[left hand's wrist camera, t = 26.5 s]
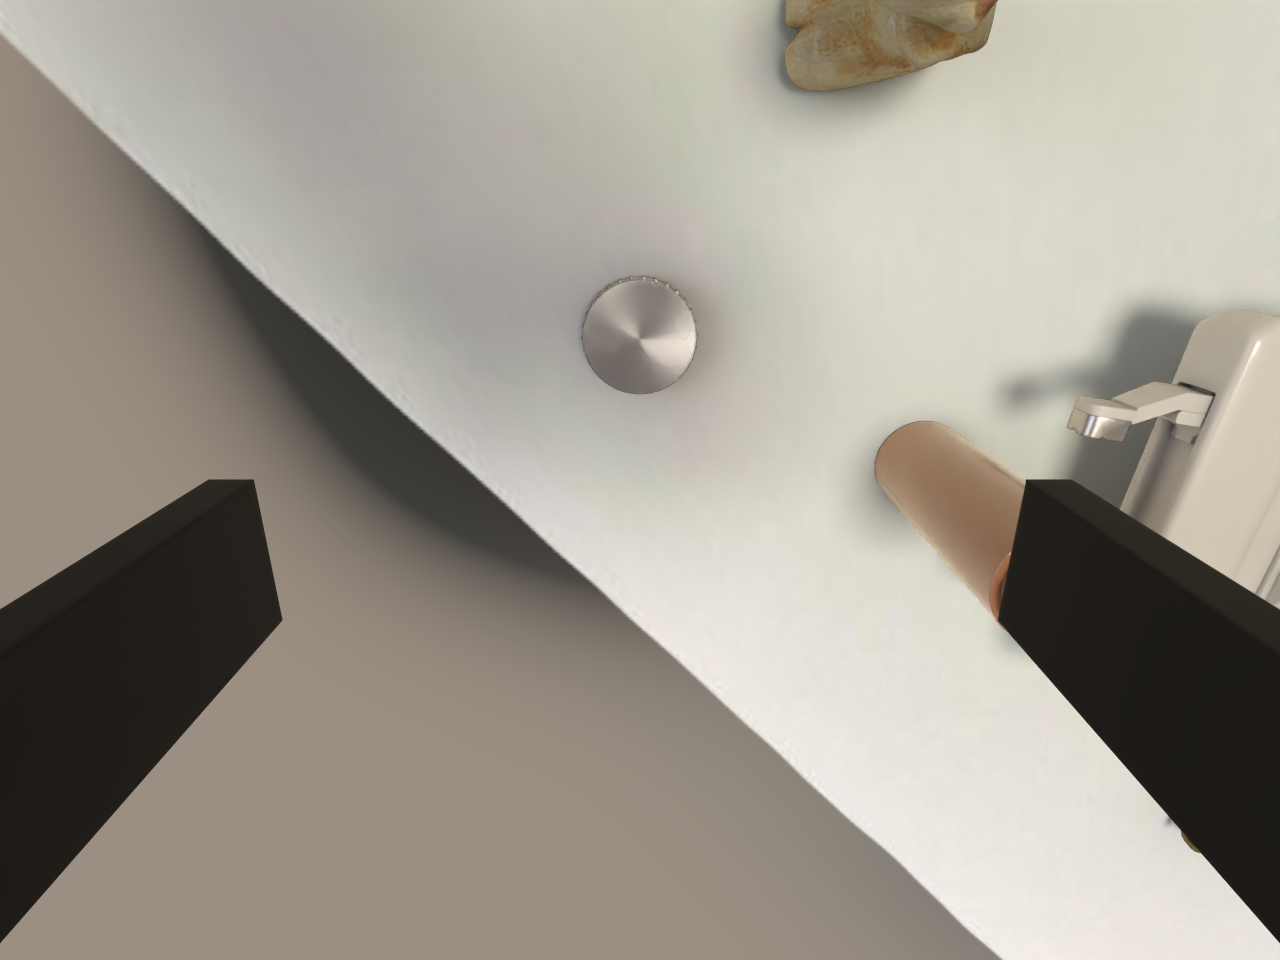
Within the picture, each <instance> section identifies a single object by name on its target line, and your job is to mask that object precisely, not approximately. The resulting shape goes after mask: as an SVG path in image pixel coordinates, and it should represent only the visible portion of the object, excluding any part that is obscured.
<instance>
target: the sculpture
mask: <svg viewBox="0 0 1280 960" xmlns="http://www.w3.org/2000/svg"><path fill="white" fill-rule="evenodd" d="M997 1H998V0H786V8H785V12H786V15H785V23H786V24H787V25H788V27H791V28H794V29H797V30H799V31H798V34H797V36H796V37H795V38H794V40H793V41H792V42H791V43H790V44H789V45H788V46H787V48H786V52H785V65H786V70H787V73H788V75H789V78H790V80H791V81H792V82H793V83H794V84H795V85H796V86H798V87H800V88H803V89H807V90H832V89H839V88H847V87H853V86H858V85H862V84H867V83H871V82H876V81H880V80H884V79H888V78H892V77H896V76H900V75H904V74H908V73H912V72H915V71H919V70H922V69H924V68H927V67H929V66H932V65H934V64H936V63H938V62H941V61H945V60H950V59H953V58H956V57H959V56H961V55H964V54H968V53H973V52H976V51H978V50H979V49H981V48H982V47H983V46H984V45H985V44H986V43H987V40H988V37H989V34H990V30H991V27H992V23H993V18H994V13H995V8H996V2H997Z"/></svg>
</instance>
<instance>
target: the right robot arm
mask: <svg viewBox="0 0 1280 960" xmlns="http://www.w3.org/2000/svg"><path fill="white" fill-rule="evenodd" d="M1155 417H1158V418H1157V420H1156V422H1155V425H1154V427H1153V430H1152V432H1151V435H1150V437H1149V439H1148V442H1147V444H1146V447H1145V449H1144V452H1143V454H1142V456H1141V459H1140V461H1139V464H1138V466H1137V468H1136V471H1135V473H1134V476H1133V478H1132V481H1131V483H1130V485H1129V488H1128V490H1127V493H1126V495H1125V497H1124V500H1123V502H1122V505H1121V507H1120V509H1119V510H1121V511H1123V512H1124V513H1126V514H1127V515H1129V516H1131V517H1132V518H1134V519H1135V520H1137V521H1139V522H1140V523H1142V524H1143V525H1145V526H1147V527H1148V528H1150V529H1151V530H1153V531H1155V532H1156V533H1158V534H1160V535H1161V536H1163V537H1164V538H1166V539H1168V540H1169V541H1171V542H1172V543H1174V544H1176V545H1177V546H1179V547H1180V548H1182V549H1184V550H1185V551H1187V552H1188V553H1190V554H1192V555H1193V556H1195V557H1196V558H1198V559H1200V560H1201V561H1203V562H1205V563H1206V564H1208V565H1209V566H1211V567H1213V568H1214V569H1216V570H1217V571H1219V572H1221V573H1222V574H1224V575H1225V576H1227V577H1229V578H1230V579H1232V580H1233V581H1235V582H1237V583H1238V584H1240V585H1241V586H1243V587H1245V588H1246V589H1248V590H1250V591H1251V592H1253V593H1254V594H1256V595H1258V596H1259V597H1261V598H1262V599H1264V600H1266V601H1267V602H1269V603H1270V604H1272V605H1274V606H1275V607H1277V608H1278V609H1280V317H1275V316H1270V315H1265V314H1259V313H1253V312H1246V311H1239V310H1232V309H1227V310H1223V311H1221V312H1219V313H1217V314H1215V315H1213V316H1211V317H1209V318H1207V319H1205V320H1203V321H1201V322H1200V323H1198V325H1197V326H1196V327H1195V329H1194V331H1193V333H1192V335H1191V338H1190V340H1189V343H1188V345H1187V347H1186V350H1185V352H1184V355H1183V357H1182V360H1181V362H1180V364H1179V367H1178V369H1177V372H1176V374H1175V377H1174V379H1173V381H1172V384H1168V383H1161V382H1151V383H1149V384H1146V385H1143V386H1141V387H1138V388H1136V389H1133V390H1131V391H1128V392H1126V393H1123V394H1121V395H1118V396H1115V397H1113V398H1112V400H1105V399H1098V398H1091V397H1084V396H1078V397H1077V399H1076V402H1075V404H1074V408H1073V411H1072V413H1071V416H1070V419H1069V421H1068V424H1067V428H1068V429H1070V430H1075V431H1076V433H1078V434H1080V435H1083V436H1087V437H1091V438H1097V439H1099V438H1102V437H1103V438H1105V439H1107V440H1111V441H1118V442H1123V441H1124V439H1125V436H1126V434H1127V432H1128V429H1129V427H1130V425H1133V424H1137V423H1140V422H1143V421H1146V420H1149V419H1152V418H1155Z"/></svg>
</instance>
